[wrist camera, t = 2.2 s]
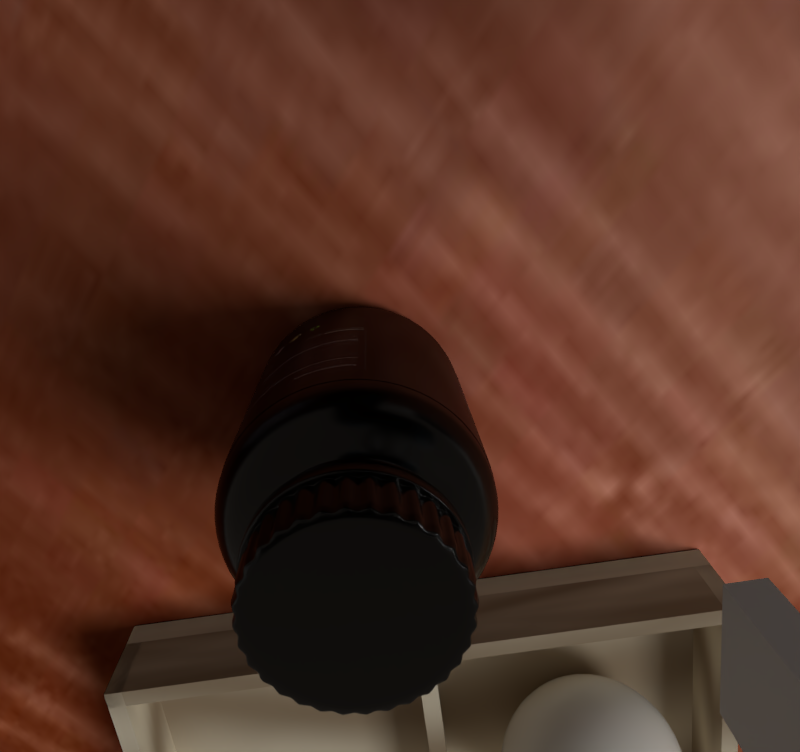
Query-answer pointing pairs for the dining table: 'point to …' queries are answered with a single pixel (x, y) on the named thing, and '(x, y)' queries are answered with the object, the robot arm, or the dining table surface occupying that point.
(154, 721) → the crate
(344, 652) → the supplement bottle
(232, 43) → the dining table surface
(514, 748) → the egg
